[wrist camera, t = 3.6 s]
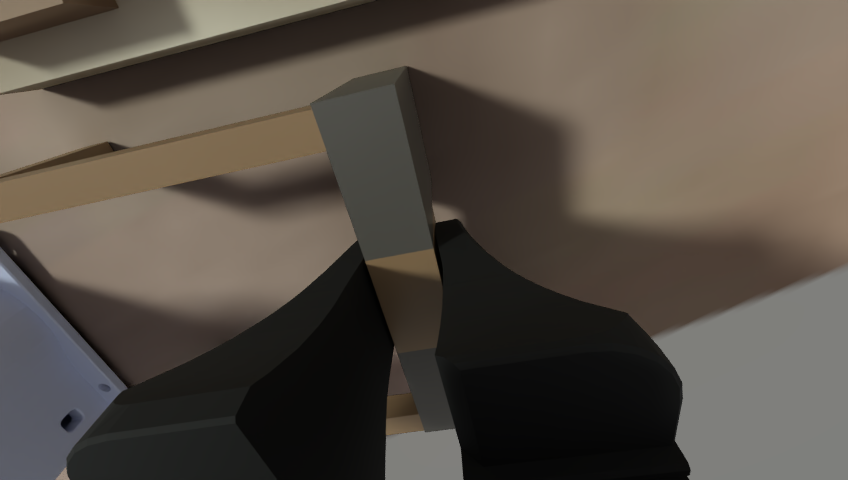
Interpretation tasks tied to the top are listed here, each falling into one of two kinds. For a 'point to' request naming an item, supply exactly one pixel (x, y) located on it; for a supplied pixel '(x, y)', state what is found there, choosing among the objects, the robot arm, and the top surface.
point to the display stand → (126, 32)
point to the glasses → (359, 184)
